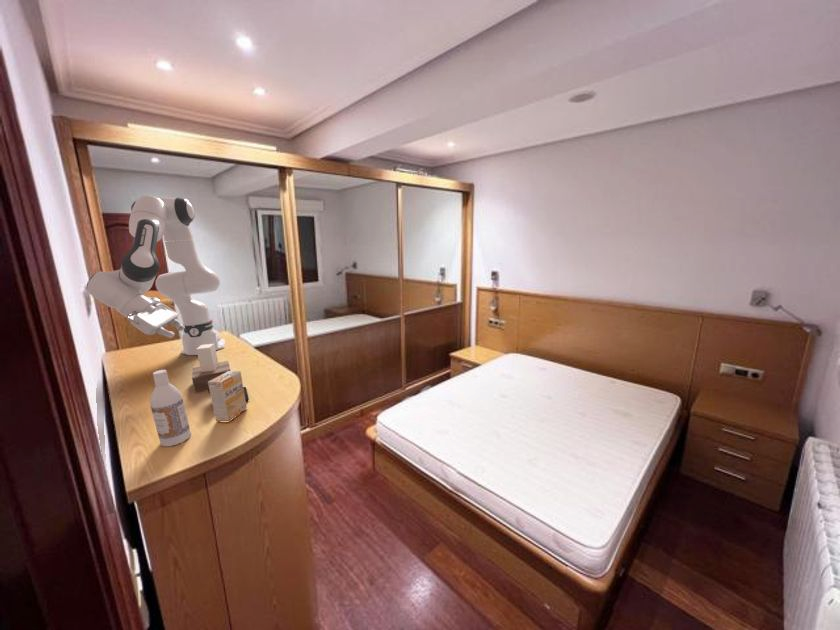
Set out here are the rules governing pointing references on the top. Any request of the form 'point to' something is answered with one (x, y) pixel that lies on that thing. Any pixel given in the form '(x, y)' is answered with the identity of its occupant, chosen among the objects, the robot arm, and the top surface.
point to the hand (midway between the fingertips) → (178, 332)
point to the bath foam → (168, 411)
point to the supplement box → (227, 395)
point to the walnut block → (207, 376)
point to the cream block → (207, 357)
